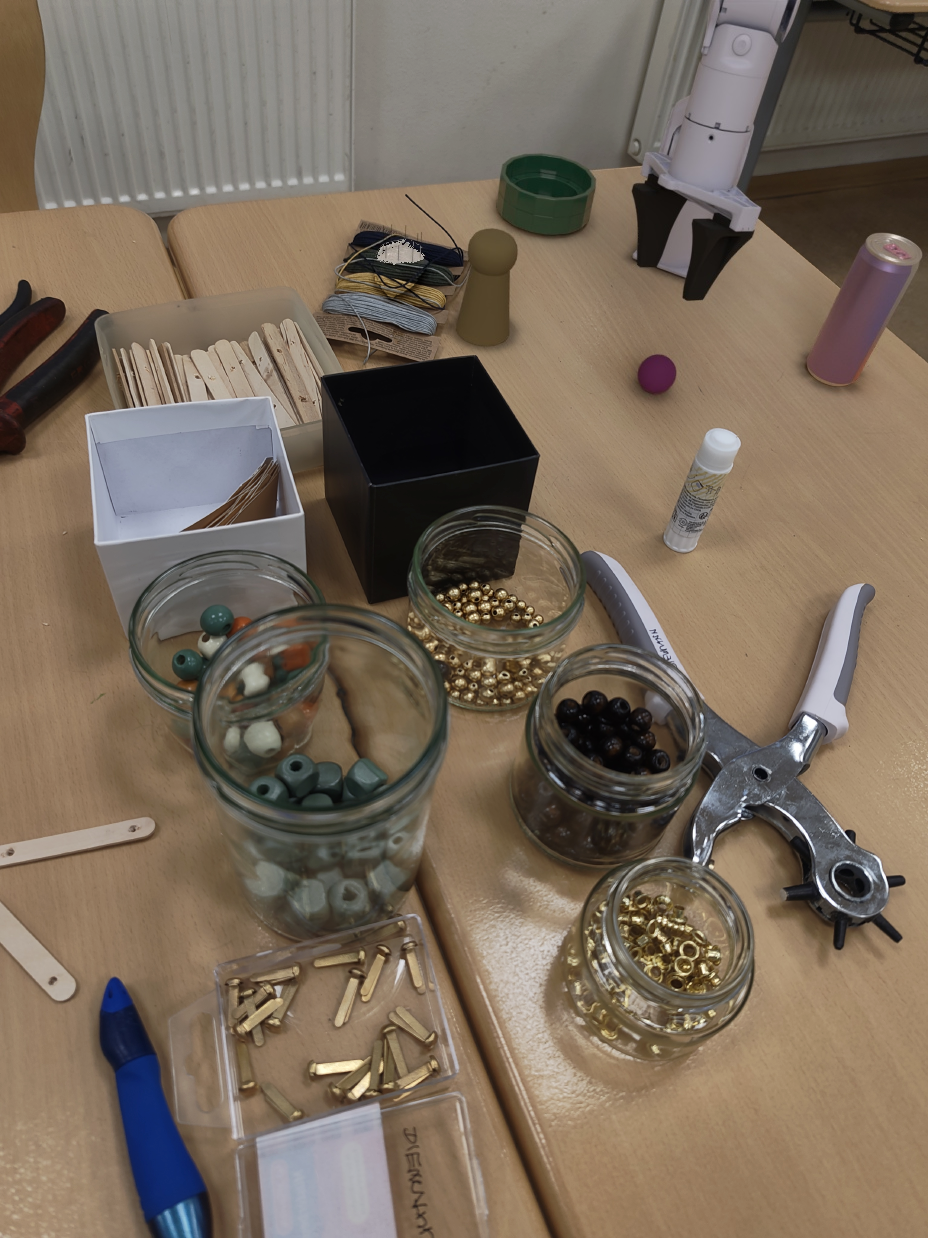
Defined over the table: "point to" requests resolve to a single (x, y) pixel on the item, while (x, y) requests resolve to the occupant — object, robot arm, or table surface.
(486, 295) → the olive brown pawn
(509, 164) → the bowl
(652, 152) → the robot arm
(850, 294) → the beverage can
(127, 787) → the table surface
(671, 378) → the ball
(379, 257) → the pincushion
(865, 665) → the table surface
